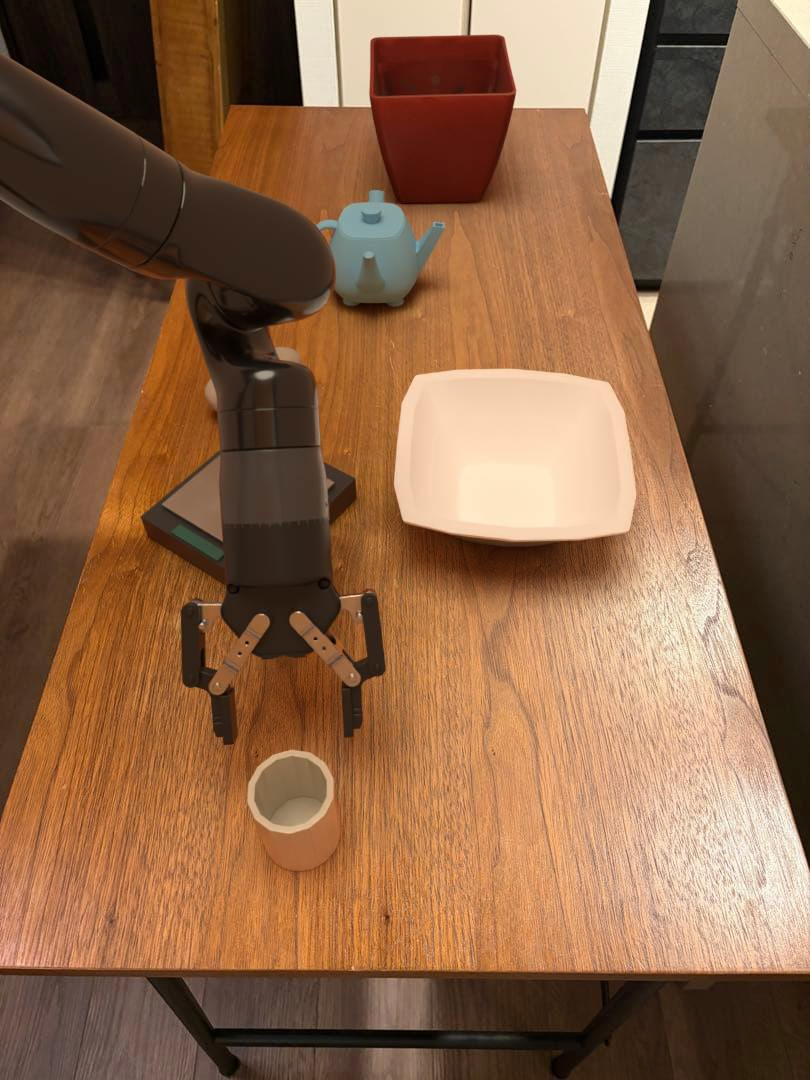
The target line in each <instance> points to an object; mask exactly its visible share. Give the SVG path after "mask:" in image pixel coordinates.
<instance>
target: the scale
mask: <svg viewBox="0 0 810 1080" xmlns="http://www.w3.org/2000/svg"><path fill="white" fill-rule="evenodd" d="M221 452H223V451H220V449H219V450H218V451H217V452H216V453H213V455H212V456H211V457H209V458H208V459H206V461H204V462H203V463H202V464H201V465H200V466H199V467H198V468H197V469H195V470H194V471H193V472H192V473H190V474H189V475H188V476H187V477H186V478H184V480H182V481H181V482H180V483H179V484H178V485H176V486H175V487H174V488H172V490H170V491H169V492H168V493H167V494H165V495H164V496H163V497H162V498H161V499H160V500H158V501H157V502H156V503H154V504H153V506H151V507H150V508H149V509H148V510H147V511H145V512H144V513H143V514H142V515H141V516H140V519H141V522H142V525H143V527H144V530H145V532H146V535H147V537H148V538H150V539H152V540H153V541H154V542H156V543H157V544H159V545H161V546H163V547H164V548H166V549H167V550H169V551H170V552H172V553H174V554H175V555H177V556H178V557H180V558H182V559H183V560H184V561H186V562H188V563H190V564H191V565H193V566H194V567H196V568H198V570H200V571H202V572H204V573H206V574H207V575H209V576H210V577H212V578H213V579H215V580H216V581H218V582H220V583H221V584H223V585H225V586H226V578H225V564H224V550H223V544H221V543H219V542H218V541H216V540H214V539H213V538H211V537H210V536H208V535H206V534H205V533H203V532H201V531H200V530H198V529H196V528H195V527H193V526H191V525H190V524H188V523H186V522H185V521H183V520H181V519H180V518H178V517H177V516H175V515H173V514H172V513H170V512H168V511H167V510H165V509H163V508H162V503H164V502H165V501H166V500H167V499H168V498H169V497H171V496H172V495H173V494H174V493H175V492H177V491H178V490H179V489H180V488H181V487H182V486H184V485H185V484H186V483H187V482H188V481H190V480H191V479H192V478H193V477H194V476H196V475H197V474H198V473H199V472H200V471H201V470H203V469H204V468H205V467H206V466H207V465H209V464H210V463H211V462H212V461H213V460H214V459H216V458H217V457H218V456H219V455H220V453H221ZM324 466H325V471H326V477H327V478H328V479H330V480H332V481H334V482H335V487H334V488H333V489H332V490H331V491H330V492H328V495H329V498H330V508H329V521H330V526H331V525H332V524H333V523H334V522H335V521H336V520H337V519H338V518H339V517H340V516H341V515H342V514H343V513H344V512H345V511H346V510H347V509H348V508H349V507H350V506H351V505H353V503H355V501H356V500H357V498H358V495H357V494H358V493H357V481H356V477H354V476H352V475H350V474H348V473H346V472H345V471H342V470H340V469H339V468H336V467H335V466H333V465H331V464H329V463H327V462H325V461H324Z"/></svg>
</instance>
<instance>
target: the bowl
mask: <svg viewBox="0 0 810 1080" xmlns="http://www.w3.org/2000/svg"><path fill="white" fill-rule="evenodd" d="M626 419H627V418H626V414H625V410H624V408H623V406H622V404H621V402H620V400H619V398H618V397H617V395H616V393H615V391H614V389H613V387H612V385H611V384H610V383H609V382H608V381H604V380H600V379H594V378H589V377H583V376H579V375H575V374H569V373H564V372H563V373H562V372H561V373H560V372H551V371H541V370H532V369H531V370H530V369H519V368H475V369H473V368H471V369H451V370H443V371H437V372H428V373H420V374H416V375H415V376H414V377H413V378H412V381H411V383H410V385H409V387H408V389H407V392H406V393H405V395H404V397H403V398H402V401H401V406H400V415H399V423H398V431H397V441H396V451H395V452H396V453H395V466H394V476H393V477H394V478H393V487H394V492H395V495H396V500H397V503H398V507H399V512H400V517H401V520H402V522H403V523H405V524H407V525H411V526H416V527H420V528H424V529H429V530H431V531H436V532H440V533H443V534H448V535H450V536H452V537H454V538H456V539H459V540H462V541H466V542H470V543H473V544H474V543H475V544H478V545H486V546H496V547H504V548H515V547H517V548H518V547H519V548H521V547H523V548H524V547H525V548H526V547H538V546H539V547H540V546H545V545H546V546H547V545H552V544H556V543H560V542H565V541H567V542H569V541H584V540H591V539H598V538H604V537H610V536H611V537H612V536H618V535H624V534H627V533H629V531H630V529H631V524H632V520H633V515H634V509H635V505H636V500H637V495H638V494H637V489H636V488H637V486H636V479H635V473H634V464H633V463H634V462H633V455H632V449H631V443H630V437H629V431H628V426H627V420H626Z"/></svg>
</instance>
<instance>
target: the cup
mask: <svg viewBox="0 0 810 1080" xmlns="http://www.w3.org/2000/svg"><path fill="white" fill-rule="evenodd" d="M246 797H247V798H246V803H247V806H248V809H249V811H250V814H251V817H252V819H253V822H254V824H255V827H256V829H257V832H258V835H259V837H260V840H261V842H262V845H263V847H264V849H265V851H266V853H267V856H268V857H269V858H270V859H271V861H272V862H274V863H275V864H276V865H277V866H278V867H280V868H282V869H284V870H288V871H292V872H306V871H310V870H313V869H316V868H318V867H319V866H322V865H323V864H324V863H325V862H327V861H328V860H329V859H330V858H331V857H332V855H333V854H334V853H335V851H336V849H337V848H338V845H339V842H340V839H341V835H342V834H341V832H342V827H341V814H340V809H339V803H338V797H337V790H336V784H335V779H334V777H333V775H332V773H331V771H330V769H329V767H328V765H327V763H326V762H325V761H324V760H322V759H320V758H319V757H318V756H316V755H315V754H313V753H312V752H310V751H303V750H297V749H289V750H285V751H280V752H278V753H274V754H272V755H271V756H269V757H268V758H267V759H265V760H264V761H263V762H261V763H260V764H259V765H258V766H257V767H256V769H255V770H254V772H253V774H252V775H251V778H250V779H249V781H248V784H247V796H246Z"/></svg>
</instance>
